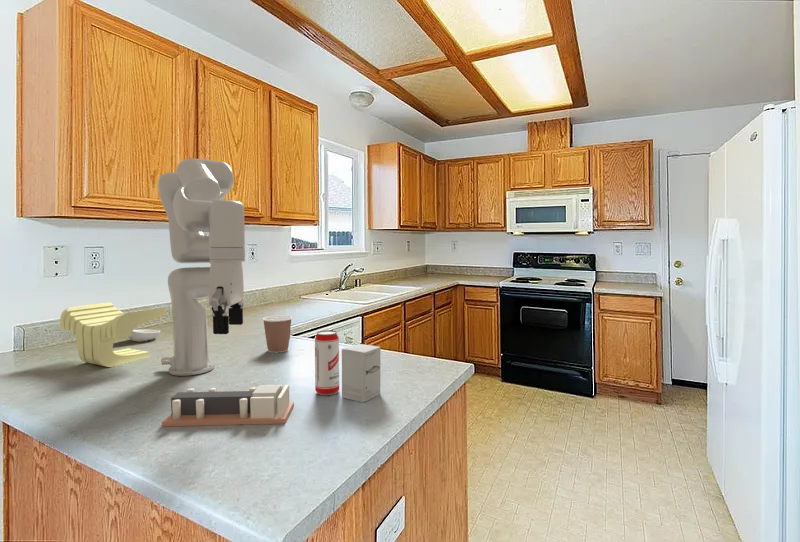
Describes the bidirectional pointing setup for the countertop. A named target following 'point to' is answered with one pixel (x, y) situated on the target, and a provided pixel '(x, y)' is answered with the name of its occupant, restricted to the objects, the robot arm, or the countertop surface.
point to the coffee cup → (277, 333)
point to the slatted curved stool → (105, 331)
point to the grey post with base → (223, 400)
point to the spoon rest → (144, 335)
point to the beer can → (327, 362)
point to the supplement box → (360, 372)
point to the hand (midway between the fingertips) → (228, 328)
